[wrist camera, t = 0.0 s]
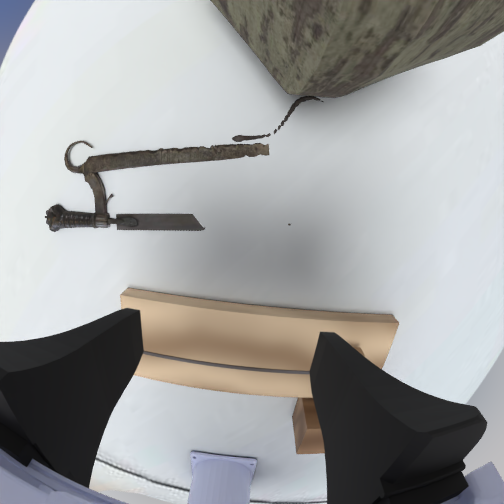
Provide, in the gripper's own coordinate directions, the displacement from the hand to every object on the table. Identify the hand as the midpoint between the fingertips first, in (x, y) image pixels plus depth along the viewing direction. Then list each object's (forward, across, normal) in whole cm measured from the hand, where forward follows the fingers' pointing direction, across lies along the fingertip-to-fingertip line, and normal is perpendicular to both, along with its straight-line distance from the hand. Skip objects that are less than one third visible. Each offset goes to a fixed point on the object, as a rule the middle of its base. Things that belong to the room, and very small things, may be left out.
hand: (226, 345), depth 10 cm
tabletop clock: (+10, -2, -18) cm, 21 cm away
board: (+10, -2, +7) cm, 12 cm away
